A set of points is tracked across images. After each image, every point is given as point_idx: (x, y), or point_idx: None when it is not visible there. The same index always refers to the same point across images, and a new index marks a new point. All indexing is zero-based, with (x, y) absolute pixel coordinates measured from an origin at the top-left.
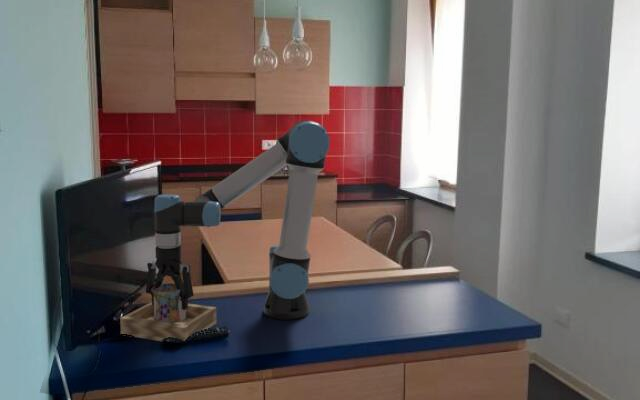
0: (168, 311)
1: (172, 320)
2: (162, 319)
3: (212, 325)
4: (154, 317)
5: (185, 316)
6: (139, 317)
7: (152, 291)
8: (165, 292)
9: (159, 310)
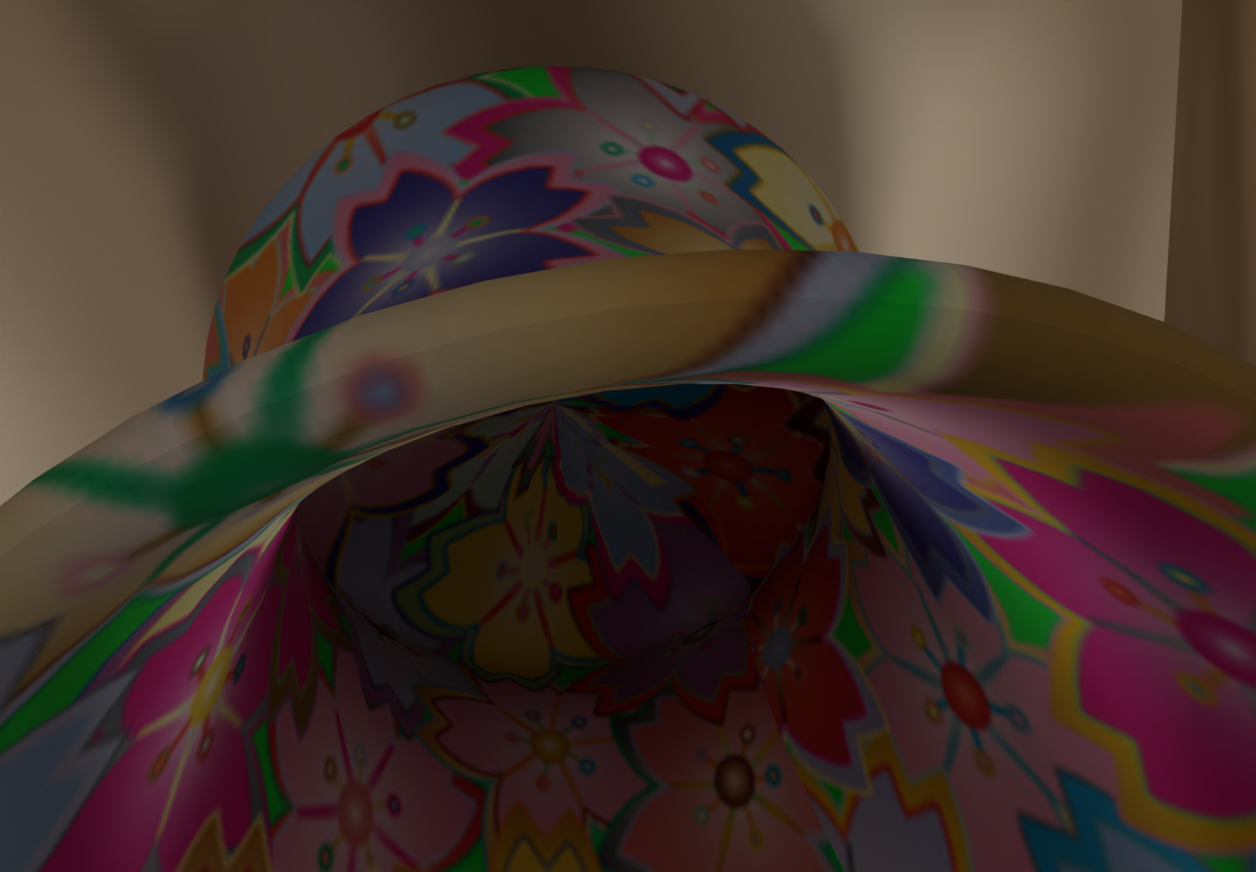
0: (313, 324)
1: (239, 284)
2: (448, 130)
3: None
4: (792, 187)
5: None
6: (1249, 202)
7: (1240, 381)
8: (19, 532)
9: (615, 220)
